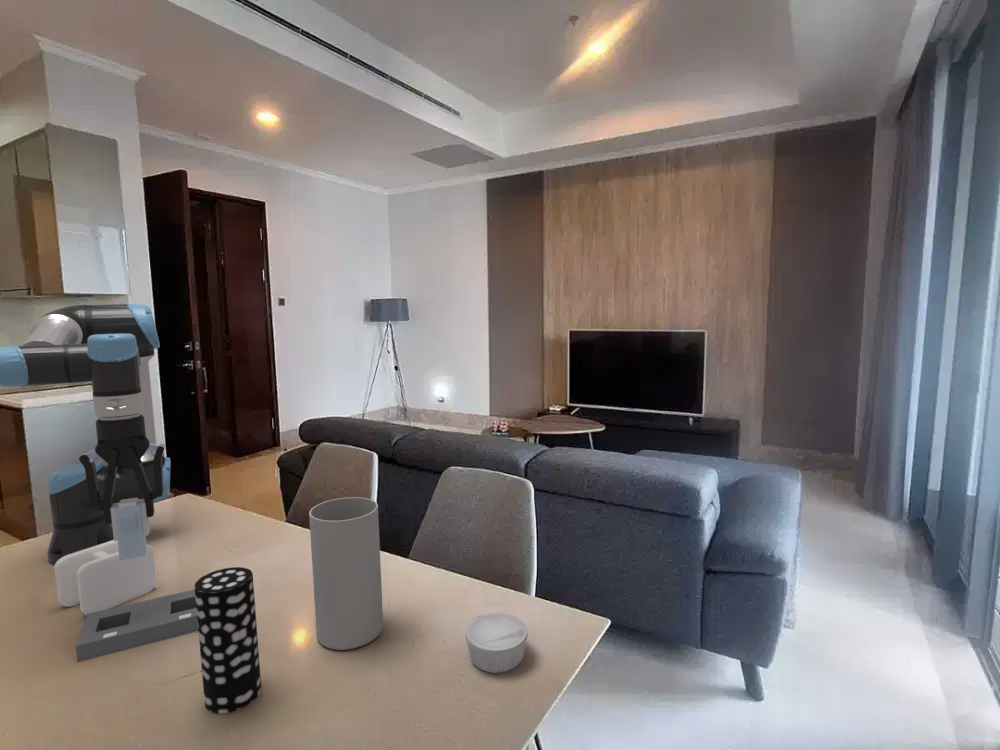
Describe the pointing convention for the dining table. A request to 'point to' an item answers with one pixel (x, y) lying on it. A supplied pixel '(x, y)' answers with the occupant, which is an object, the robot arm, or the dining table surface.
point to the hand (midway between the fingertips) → (132, 535)
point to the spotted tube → (228, 639)
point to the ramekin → (496, 642)
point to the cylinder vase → (346, 572)
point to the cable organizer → (103, 577)
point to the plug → (130, 529)
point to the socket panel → (137, 624)
